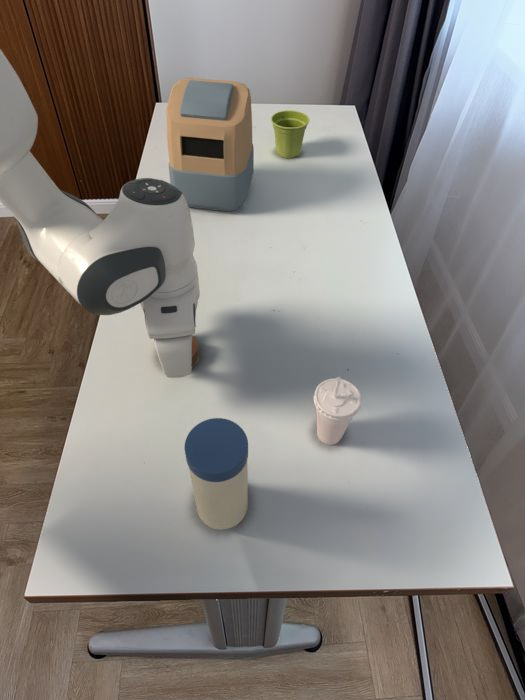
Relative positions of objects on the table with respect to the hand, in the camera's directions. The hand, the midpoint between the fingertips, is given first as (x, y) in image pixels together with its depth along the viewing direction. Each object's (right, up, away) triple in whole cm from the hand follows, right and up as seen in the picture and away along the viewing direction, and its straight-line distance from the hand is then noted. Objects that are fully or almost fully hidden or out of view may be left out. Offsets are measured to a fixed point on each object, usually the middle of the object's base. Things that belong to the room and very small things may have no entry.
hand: (178, 349), depth 83 cm
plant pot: (+20, +50, +46) cm, 71 cm away
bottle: (+8, -21, -15) cm, 27 cm away
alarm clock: (+3, +36, +33) cm, 49 cm away
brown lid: (0, -1, +1) cm, 2 cm away
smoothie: (+24, -13, -8) cm, 28 cm away
